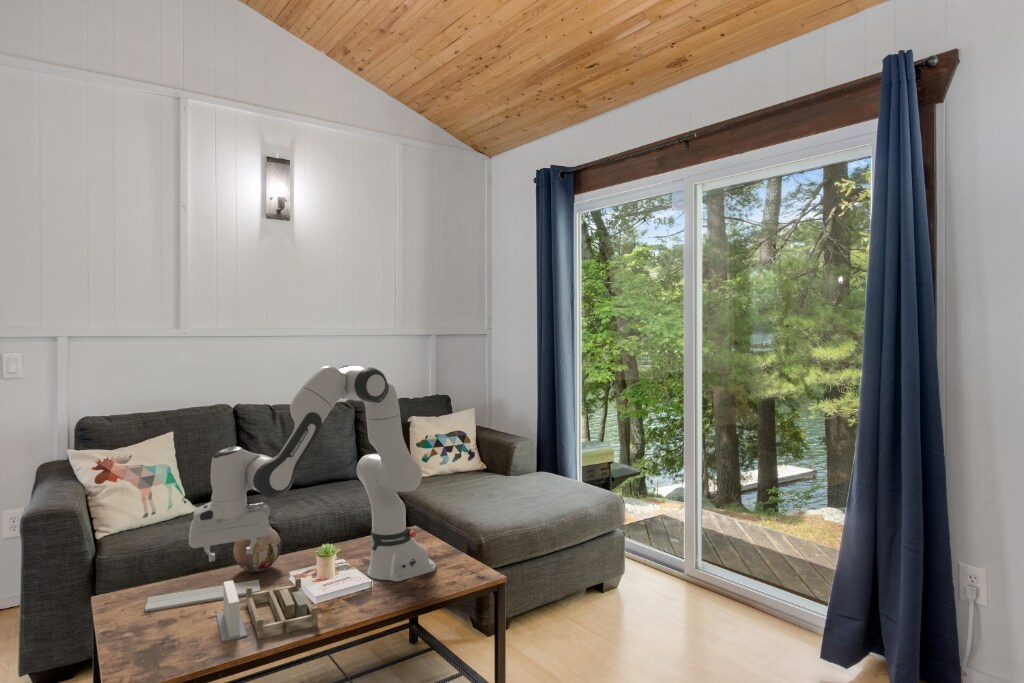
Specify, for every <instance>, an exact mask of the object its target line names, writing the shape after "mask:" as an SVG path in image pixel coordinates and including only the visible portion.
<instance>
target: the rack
mask: <svg viewBox="0 0 1024 683" xmlns="http://www.w3.org/2000/svg"><path fill="white" fill-rule="evenodd" d="M283 589H287V590H288V592H289V594H290V596H291V598H292V592H297V591H300V592H301V594H302V596H303V597H304V599H305V601H306V603H307V616H303V617H298V618H297V617H295V618H293V617H292V618H289V619H286V617H285V614H283V613H284V612H282V611H283V610H282V608H281V607H280V606H281V605H280V603H279V601H278V600H279V590H283ZM245 598H246V601H245V603H246V604H245V605H246V606H247V608H248V611H249V614H250V617H251V620H252V623H253V626H254V629H255V632H256V639H257V640H262V639H265V638H269V637H273V636H274V637H275V636H278V635H283V634H287V633H291V632H297V631H300V630H304V629H309V628H314V627H318V626H319V622H318V621H319V618H318V617H319V616H318V613H319V610H318V609H319V607H318V606H317V605H315V606H312V604H311V602H310V600H309V599H308V596H307V595H306V593H305V591H304V589H303V587H302V578H301V577H300V576H299V577H296V578H295V584H293V585H287V586H283V587H277V588H272V589H267V590H263V591H261V590H260V592H256V593H252V587H246V596H245ZM267 602H269V604H270V606H271V610H272V611H273V612H272V613H273V614H274V617H275V619H276V622H271V623H268V624H264V618H263V617H260V616H259V614H258V610H257V607H256V604H262V603H267Z"/></svg>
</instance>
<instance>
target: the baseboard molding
mask: <svg viewBox="0 0 1024 683" xmlns="http://www.w3.org/2000/svg"><path fill="white" fill-rule="evenodd" d="M234 585H235V589H236V592H237V595H238V598H239V597H246V587H252V593H256V592H261V579H260V576H258V579H255V580H248V581H241V582H236V583H235V582H234ZM221 600H224V586H223V585H216V586H211V587H205V588H197V589H192V590H185V591H179V592H172V593H167V594H160V595H154V596H149V597H147V601H146V604H145V606H144V607H145V608H144V613H148V611H150V612H154V611H155V610H156V611H159V610H161V609H162V610H168V609H172V608H173V607H174V608H179V606H180V607H186V606H191V605H198V604H203V603H209V602H215V601H221ZM185 605H186V606H185ZM167 608H168V609H167Z"/></svg>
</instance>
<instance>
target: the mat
mask: <svg viewBox="0 0 1024 683" xmlns="http://www.w3.org/2000/svg"><path fill="white" fill-rule="evenodd" d="M239 615H240V635H237V636H233V637H229V633H228V629H227V625H226V620H225V616H224V611H221V612H216V620H217V624H218V629H219V635H220V639H221V642H222V643H224V642H228V641H234V640H237V639H238V640H239V639H242V638H246V637H248V634H247V631H246V627H245V624H244V621H243V618H242V617H243V616H242V615H241V610H240V609H239Z"/></svg>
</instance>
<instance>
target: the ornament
mask: <svg viewBox="0 0 1024 683" xmlns="http://www.w3.org/2000/svg"><path fill="white" fill-rule="evenodd" d="M250 544H251V540H250V539H246V540H240V541H235V542H234V545H233V552H232V553H233V558H234V560H235V562H236V564H237V565H238V566H239V567H240V568H241V569H242V570H244V571H248V572H251V573H256V572H262V571H264V570H267V569H269V568H270V567H272V566H273V565H274V564H275V563H276V562H277V560H278V559H279V558H280V555H281V552H282V551H281V550H282V541H281V538H280V535H279V533H278V532H277V531H276V530H275V529H273V528H272V527H270V533H269V534H268V535H267V536H264V537H258V538H257V542H256V543H255V545H254V547H253V554H250V555H247V554H246V551H247V550H246V547H249V546H250Z"/></svg>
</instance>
